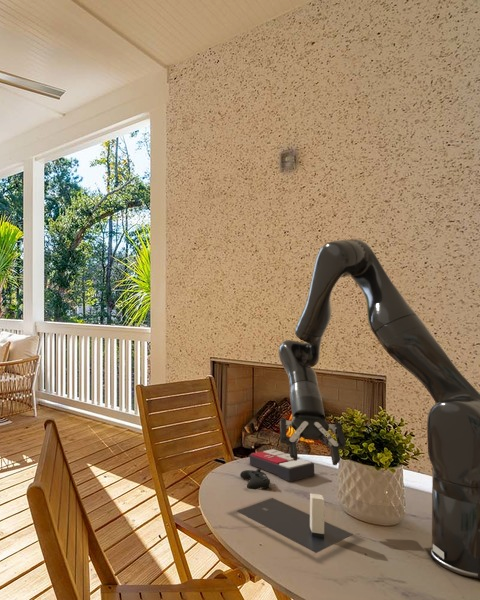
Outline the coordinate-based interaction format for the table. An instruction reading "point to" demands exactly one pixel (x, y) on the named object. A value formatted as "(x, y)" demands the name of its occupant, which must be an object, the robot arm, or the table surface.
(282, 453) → the calculator
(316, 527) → the tall cream square pillar
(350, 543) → the table surface
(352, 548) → the table surface
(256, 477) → the game controller
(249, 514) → the tablet
